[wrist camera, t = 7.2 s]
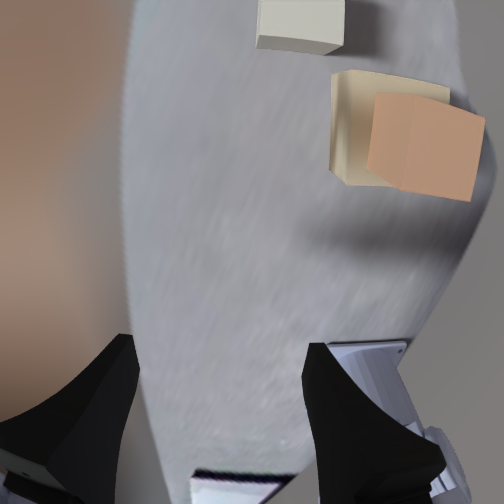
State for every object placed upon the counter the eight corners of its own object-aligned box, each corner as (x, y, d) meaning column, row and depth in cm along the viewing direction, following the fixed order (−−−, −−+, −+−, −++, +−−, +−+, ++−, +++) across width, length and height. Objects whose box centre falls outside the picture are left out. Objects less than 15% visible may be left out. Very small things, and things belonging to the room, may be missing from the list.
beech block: (410, 173, 19) (441, 189, 16) (328, 169, 19) (347, 185, 16) (415, 87, 17) (449, 88, 13) (330, 75, 17) (351, 69, 13)
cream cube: (323, 55, 16) (343, 45, 12) (255, 48, 16) (259, 34, 12) (325, -1, 14) (345, -22, 11) (259, -10, 14) (263, -34, 10)
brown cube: (428, 178, 16) (470, 202, 12) (366, 168, 15) (400, 190, 12) (439, 109, 14) (485, 118, 10) (375, 93, 14) (415, 94, 10)
